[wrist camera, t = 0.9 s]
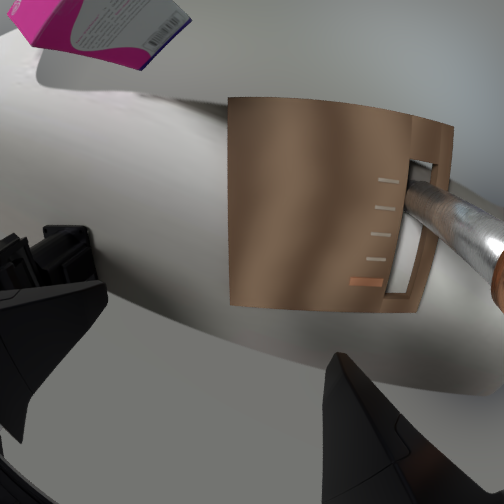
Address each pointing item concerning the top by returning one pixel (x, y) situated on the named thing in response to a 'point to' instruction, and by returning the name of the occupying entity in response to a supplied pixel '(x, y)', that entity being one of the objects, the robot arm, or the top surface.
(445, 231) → the capped cylinder
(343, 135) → the brown wooden flat board
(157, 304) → the top surface
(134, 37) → the supplement box
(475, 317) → the top surface
